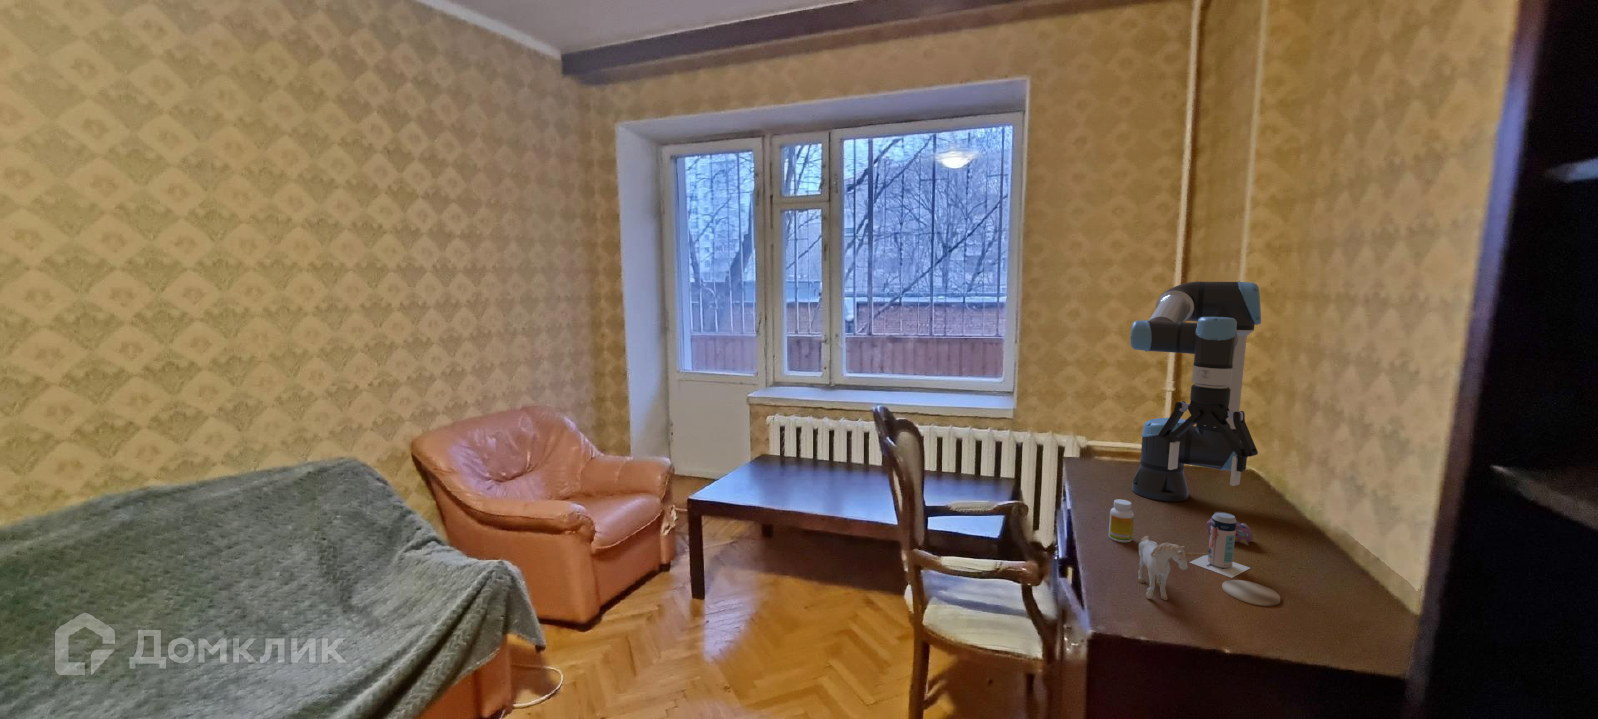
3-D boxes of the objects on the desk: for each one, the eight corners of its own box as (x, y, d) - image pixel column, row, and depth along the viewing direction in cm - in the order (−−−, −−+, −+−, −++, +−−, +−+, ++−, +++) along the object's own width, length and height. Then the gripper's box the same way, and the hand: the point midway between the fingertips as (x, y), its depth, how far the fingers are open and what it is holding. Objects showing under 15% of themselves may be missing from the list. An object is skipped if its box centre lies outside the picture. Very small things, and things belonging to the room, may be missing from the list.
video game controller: (1204, 540, 166) (1204, 520, 163) (1208, 528, 168) (1208, 508, 165) (1250, 551, 159) (1251, 531, 156) (1254, 539, 162) (1254, 518, 159)
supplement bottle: (1134, 543, 160) (1137, 506, 158) (1111, 541, 161) (1114, 504, 159) (1128, 535, 165) (1131, 499, 164) (1105, 533, 166) (1108, 497, 165)
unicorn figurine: (1167, 619, 125) (1173, 554, 123) (1115, 572, 144) (1119, 516, 142) (1203, 618, 125) (1210, 553, 123) (1146, 572, 144) (1151, 515, 142)
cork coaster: (1235, 578, 142) (1235, 575, 142) (1288, 597, 133) (1289, 594, 133) (1213, 590, 136) (1213, 587, 136) (1267, 610, 128) (1267, 608, 128)
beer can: (1210, 558, 151) (1215, 509, 150) (1234, 564, 148) (1239, 515, 146) (1205, 564, 148) (1209, 514, 146) (1229, 571, 145) (1234, 520, 143)
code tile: (1208, 553, 154) (1208, 553, 154) (1250, 568, 147) (1250, 567, 147) (1189, 562, 149) (1189, 562, 149) (1231, 577, 142) (1231, 577, 142)
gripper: (1147, 378, 153) (1140, 464, 156) (1265, 395, 132) (1255, 494, 135) (1165, 376, 157) (1158, 460, 160) (1282, 392, 136) (1272, 489, 139)
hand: (1202, 476), depth 147 cm, fingers open, 13 cm apart
